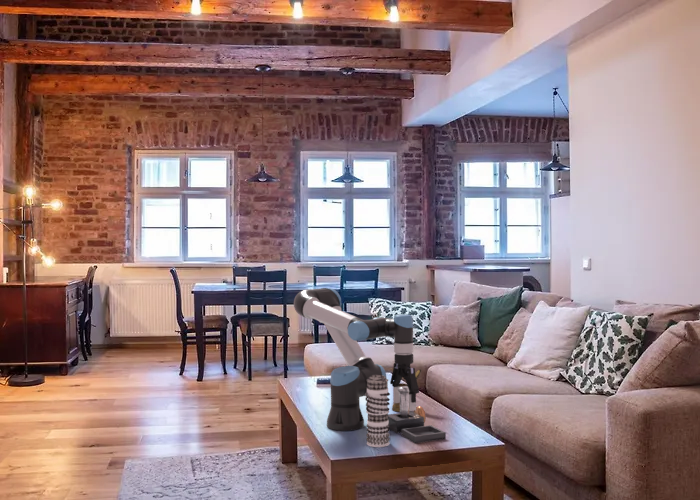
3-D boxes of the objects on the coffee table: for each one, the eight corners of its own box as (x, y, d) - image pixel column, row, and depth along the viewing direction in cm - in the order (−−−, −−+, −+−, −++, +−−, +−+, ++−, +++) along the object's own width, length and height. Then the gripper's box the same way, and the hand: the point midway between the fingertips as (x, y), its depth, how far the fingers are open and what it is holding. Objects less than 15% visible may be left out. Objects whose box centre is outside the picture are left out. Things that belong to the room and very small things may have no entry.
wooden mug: (424, 411, 286) (423, 370, 286) (393, 412, 285) (393, 371, 285) (420, 406, 295) (419, 366, 295) (390, 407, 293) (390, 367, 293)
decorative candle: (389, 439, 245) (388, 373, 245) (391, 447, 236) (391, 378, 235) (365, 440, 245) (364, 373, 244) (366, 447, 235) (365, 378, 235)
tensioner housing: (396, 433, 253) (396, 413, 253) (385, 427, 262) (385, 407, 262) (430, 429, 258) (430, 409, 258) (418, 422, 267) (417, 403, 267)
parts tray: (415, 443, 240) (415, 436, 240) (401, 435, 250) (401, 429, 250) (445, 439, 245) (445, 432, 245) (431, 431, 255) (431, 425, 255)
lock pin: (401, 431, 256) (401, 389, 256) (395, 427, 261) (395, 386, 261) (413, 429, 258) (413, 388, 258) (407, 426, 263) (407, 385, 263)
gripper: (427, 357, 249) (428, 412, 249) (398, 348, 272) (398, 398, 272) (410, 358, 246) (410, 414, 246) (381, 349, 269) (382, 400, 269)
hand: (404, 406), depth 259 cm, fingers open, 13 cm apart
